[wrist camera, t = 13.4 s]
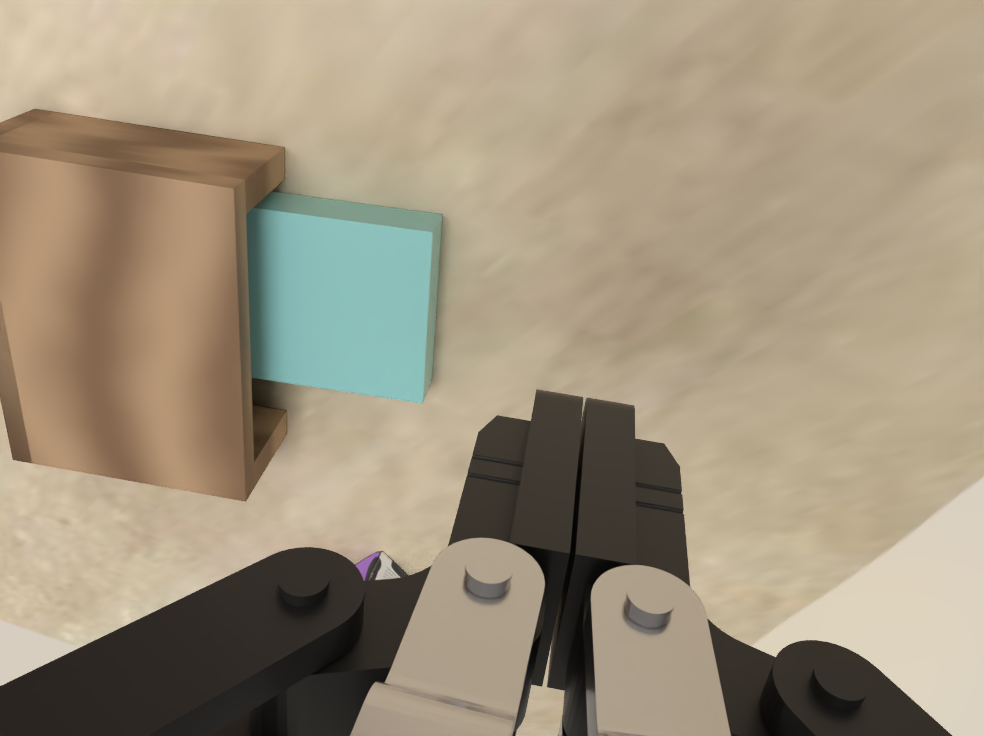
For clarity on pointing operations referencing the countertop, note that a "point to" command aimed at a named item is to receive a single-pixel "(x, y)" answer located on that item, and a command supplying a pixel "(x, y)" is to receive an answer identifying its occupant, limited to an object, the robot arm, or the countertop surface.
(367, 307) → the thin teal board
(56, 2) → the countertop surface
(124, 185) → the wood block
